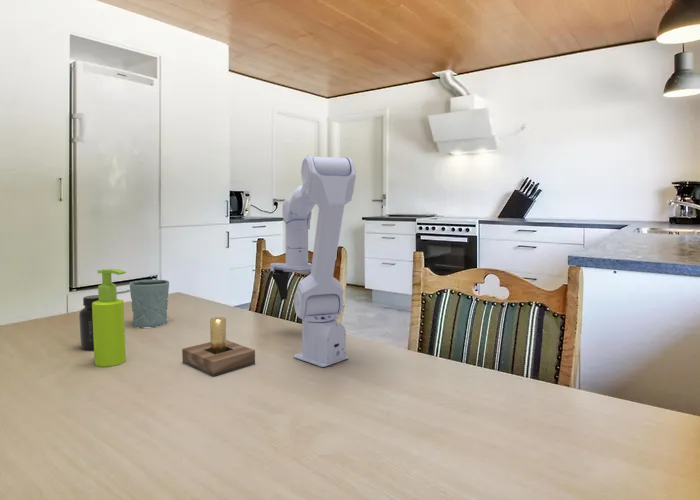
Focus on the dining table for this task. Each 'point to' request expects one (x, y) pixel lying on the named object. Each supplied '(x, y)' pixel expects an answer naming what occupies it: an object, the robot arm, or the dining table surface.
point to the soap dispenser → (108, 323)
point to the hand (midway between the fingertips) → (297, 300)
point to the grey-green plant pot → (149, 302)
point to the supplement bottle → (87, 323)
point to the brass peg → (218, 335)
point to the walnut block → (218, 358)
